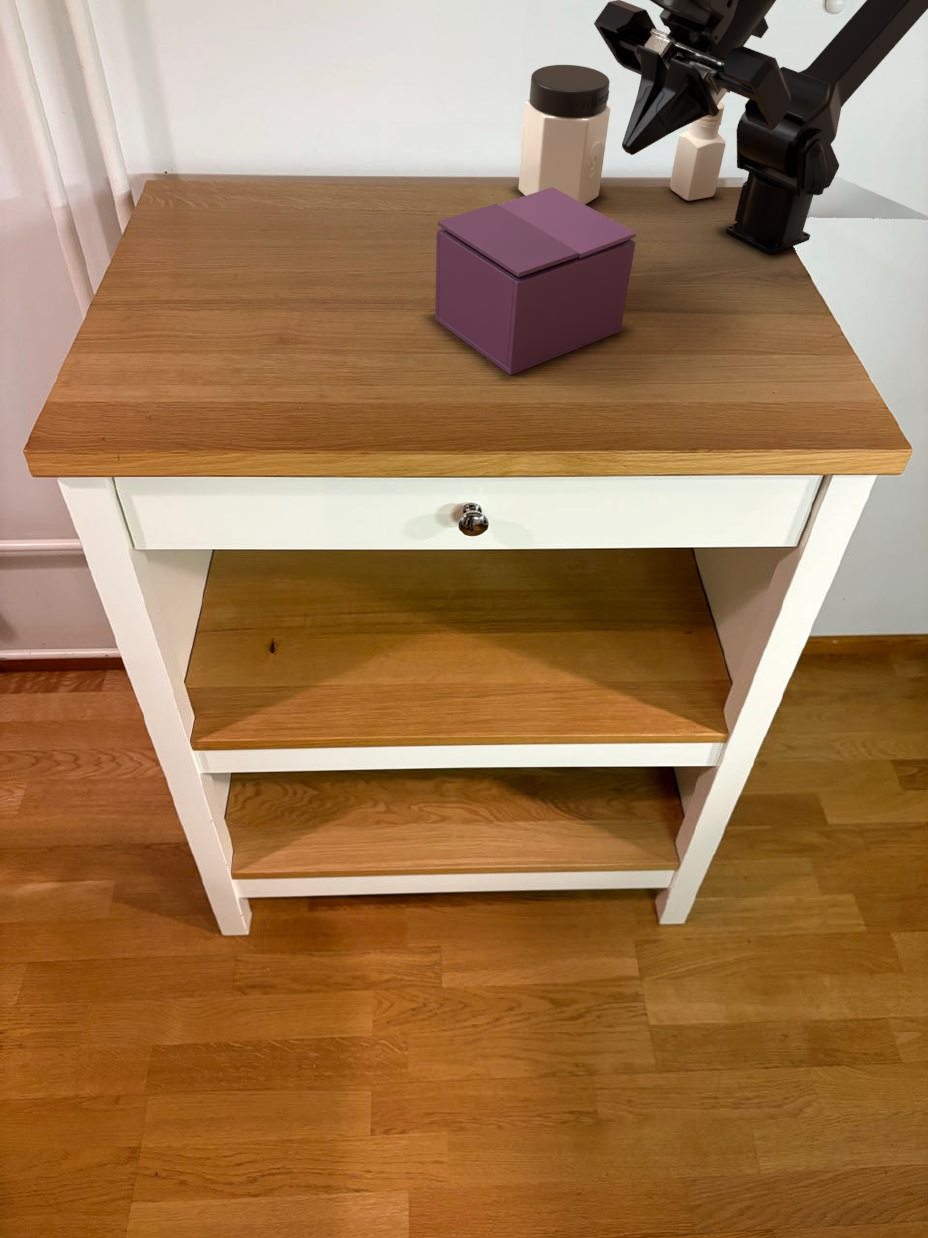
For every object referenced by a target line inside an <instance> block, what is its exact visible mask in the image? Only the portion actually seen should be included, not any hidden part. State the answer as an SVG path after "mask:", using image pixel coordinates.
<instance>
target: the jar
mask: <svg viewBox="0 0 928 1238" xmlns="http://www.w3.org/2000/svg"><path fill="white" fill-rule="evenodd" d="M610 83H611V82H610V79H609V77H608V76H607V75H606V74H605V73H604V72H602V71H599V70H598V69H595V68H592V67H589V66H588V67H587V66H583V65H576V64H575V65H574V64H552V65H547V66H543V67H540V68H537V69H536V70H534V71H533V72H532V74H531V76H530V90H529V99H527V100H526V101H525V102H524V112H523V125H522V135H521V137H522V139H521V151H520V163H519V177H518V191H519V192H520V193H521V194H522V195H523V196H527V195H530V194H533V193H536V192H539V191H542V190H545V189H548V188H551V187H554V188H555V189H557V190H559V191H561V192H563V193H564V194H566V195H568V196H570V197H572V198H574V199H575V200H577V201H579V202H581V203H583V204H584V205H586V206H587V204H589V203H590V202H592V201H593V200H595V199H597V198H598V197H599V195H600V188H601V181H602V174H603V167H604V159H605V152H606V144H607V138H608V131H609V122H610V115H611V108H610V107H609V106H608V101H609V97H610V96H609V95H610Z"/></svg>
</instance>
